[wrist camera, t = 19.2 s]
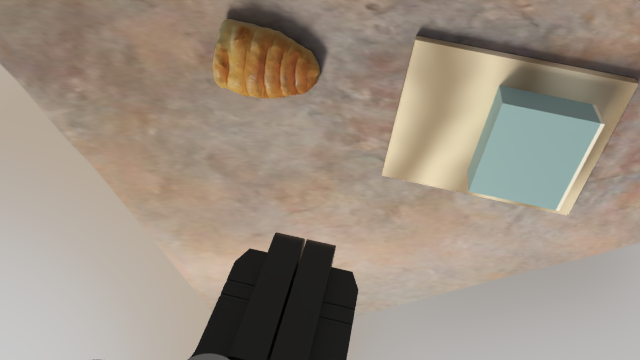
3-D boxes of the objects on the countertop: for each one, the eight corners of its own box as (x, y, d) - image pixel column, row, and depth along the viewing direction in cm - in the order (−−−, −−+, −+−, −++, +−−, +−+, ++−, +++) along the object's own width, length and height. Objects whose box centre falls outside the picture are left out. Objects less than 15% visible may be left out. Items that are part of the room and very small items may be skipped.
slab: (468, 191, 48) (558, 211, 48) (502, 103, 43) (604, 124, 42) (467, 171, 51) (553, 189, 50) (499, 85, 45) (595, 104, 45)
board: (382, 169, 54) (381, 175, 53) (415, 35, 45) (415, 39, 44) (565, 208, 52) (567, 215, 52) (635, 78, 44) (638, 83, 43)
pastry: (326, 33, 47) (318, 50, 44) (317, 101, 51) (309, 121, 48) (222, 12, 47) (207, 28, 44) (220, 81, 52) (206, 100, 48)
